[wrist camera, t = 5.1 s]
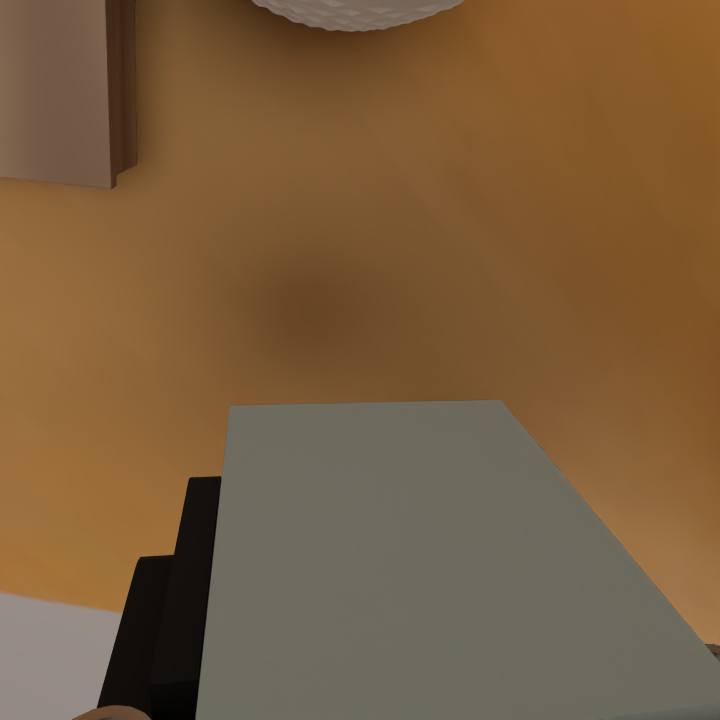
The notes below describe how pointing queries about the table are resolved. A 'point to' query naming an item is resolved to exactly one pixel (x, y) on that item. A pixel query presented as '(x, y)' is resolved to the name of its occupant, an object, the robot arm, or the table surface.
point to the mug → (356, 12)
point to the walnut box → (67, 90)
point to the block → (428, 578)
